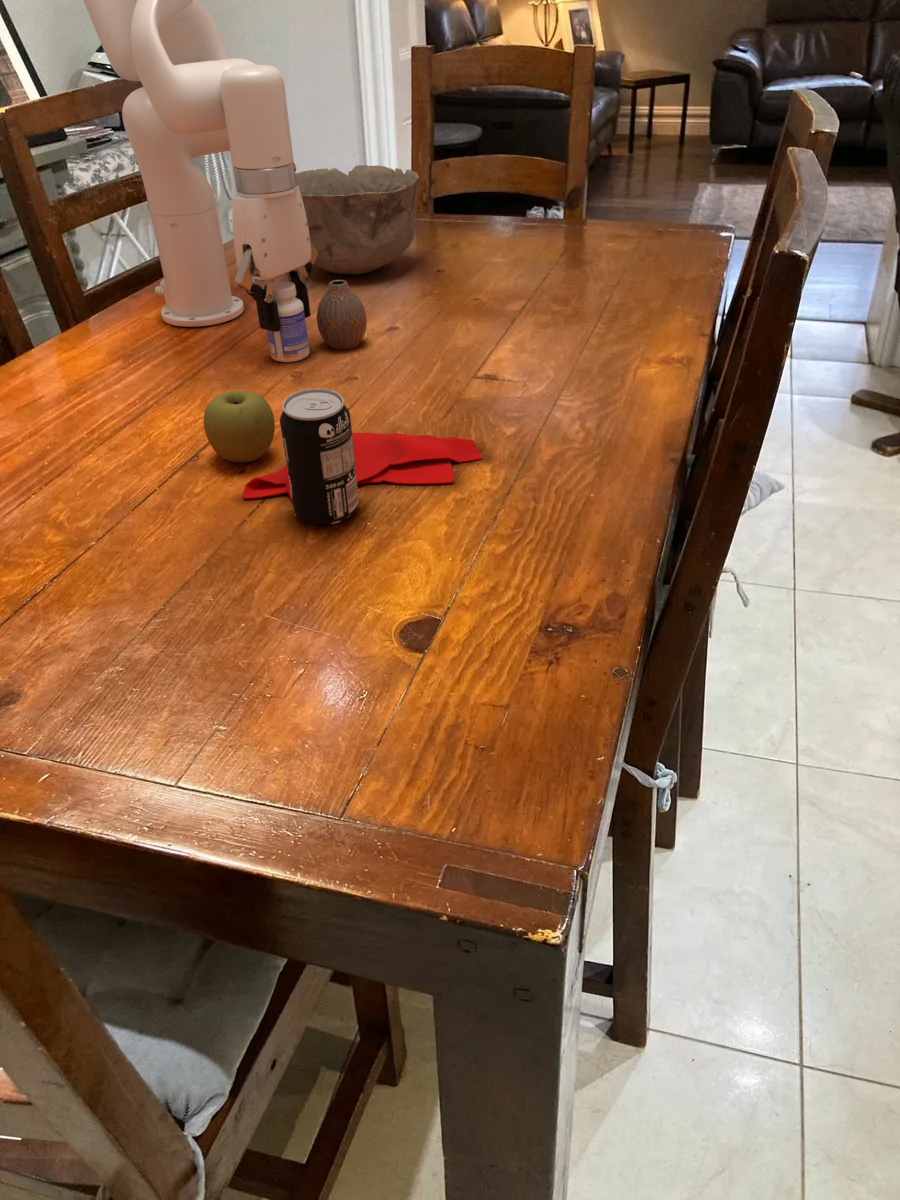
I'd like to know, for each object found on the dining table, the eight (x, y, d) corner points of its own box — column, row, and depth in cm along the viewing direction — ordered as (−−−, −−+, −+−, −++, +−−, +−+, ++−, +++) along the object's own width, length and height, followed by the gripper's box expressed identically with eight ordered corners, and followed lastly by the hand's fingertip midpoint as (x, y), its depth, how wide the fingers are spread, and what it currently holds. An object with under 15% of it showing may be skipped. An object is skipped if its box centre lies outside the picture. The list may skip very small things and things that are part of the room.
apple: (222, 479, 101) (210, 418, 97) (202, 451, 107) (190, 392, 102) (289, 462, 103) (279, 402, 99) (266, 435, 109) (256, 377, 105)
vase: (361, 354, 129) (355, 290, 124) (313, 352, 130) (305, 289, 125) (374, 336, 135) (368, 275, 130) (328, 335, 136) (321, 274, 131)
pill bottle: (316, 350, 131) (308, 280, 125) (299, 364, 127) (289, 293, 121) (282, 347, 133) (272, 278, 127) (263, 361, 128) (252, 290, 123)
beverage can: (295, 493, 97) (279, 388, 89) (359, 489, 97) (348, 383, 89) (292, 530, 92) (275, 422, 84) (359, 526, 92) (348, 417, 84)
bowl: (445, 262, 164) (442, 169, 155) (372, 298, 149) (363, 198, 140) (346, 247, 173) (337, 159, 165) (267, 280, 159) (254, 185, 150)
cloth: (470, 426, 109) (470, 408, 108) (492, 482, 98) (492, 462, 97) (245, 449, 107) (242, 430, 105) (242, 508, 96) (238, 489, 94)
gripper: (288, 164, 124) (305, 300, 134) (194, 191, 112) (221, 338, 123) (332, 168, 120) (346, 308, 131) (239, 197, 109) (263, 347, 120)
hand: (285, 321), depth 127 cm, fingers closed on pill bottle, 5 cm apart
